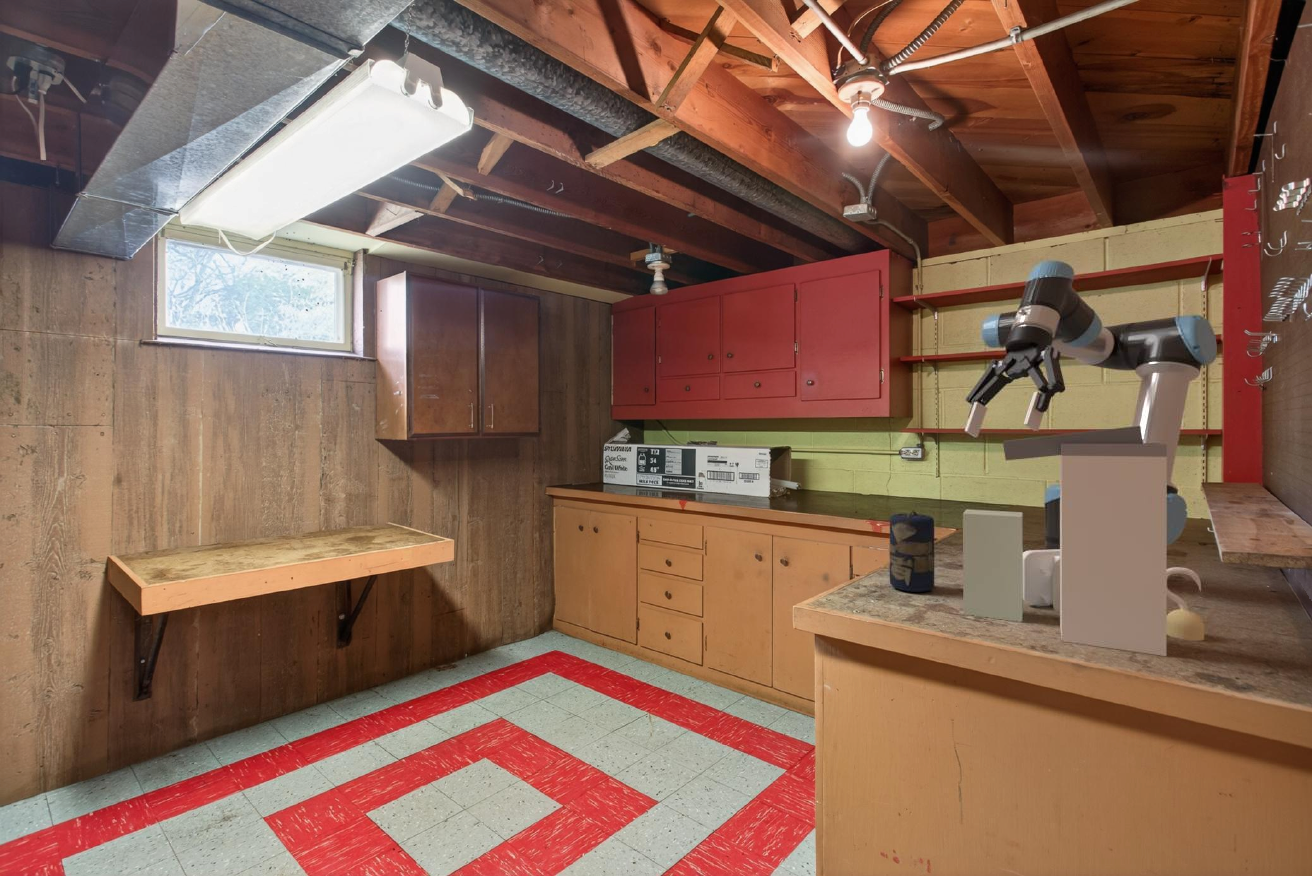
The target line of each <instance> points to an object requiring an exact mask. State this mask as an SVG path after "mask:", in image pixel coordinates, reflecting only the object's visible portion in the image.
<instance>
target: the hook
mask: <svg viewBox="0 0 1312 876" xmlns="http://www.w3.org/2000/svg"><path fill="white" fill-rule="evenodd" d="M1174 574H1185V575H1187V576H1189V577H1190V578H1191V579H1192V580H1193V581H1194V582H1195V583H1196V585H1197V586H1198V589H1199V591H1200V592H1202V584H1201V583H1202V582H1201V580H1200V576H1199V575H1198V574H1197V573H1196V572H1195V571H1194V570H1192V569H1190V568H1187V567H1182V566H1181V567H1179V566H1177V567H1170V568H1167V579H1168V578H1169V577H1170V576H1171V575H1174ZM1166 598H1168V599H1170V600H1171V601H1174V602H1175V603H1176V604H1177V605H1178V606H1179V609H1173V610H1172V611H1170V612H1169V613H1168V614H1166V636H1169V637H1171V638H1175V639H1179V640H1185V641H1192V642H1193V641H1194V642H1199V641H1204V640H1205V624H1204V621H1203V620H1202V618H1201V617H1200V616H1199V615H1198V614H1197V613H1195V612H1193V611H1191V610H1190V609H1189V606H1188V605H1187V603H1186V601H1185V600H1184V599H1183V598H1181V596H1179V595H1177V594H1175V593H1173V592H1172V591H1170V589H1169V588H1168V580H1167V581H1166Z"/></svg>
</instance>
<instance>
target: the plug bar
mask: <svg viewBox="0 0 1312 876" xmlns="http://www.w3.org/2000/svg"><path fill="white" fill-rule="evenodd" d="M1061 444H1143V438H1142V432H1141V426H1133V427H1132V426H1126V427H1117V428H1116V427H1115V428H1109V429H1107V428H1106V429H1099V430H1089V431H1082V432H1080V431H1079V432H1073V433H1062V434H1055V435H1054V434H1053V435H1046V436H1036V437H1027V438H1020V439H1018V438H1017V439H1010V440H1009V439H1008V440H1003V441H1002V445H1003V451H1004V452H1003V453H1004V457H1005V459H1004V460H1005V461H1013V460H1025V459H1034V458H1045V457H1056V456H1057V457H1058V456H1060V455H1061Z"/></svg>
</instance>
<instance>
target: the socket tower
mask: <svg viewBox="0 0 1312 876" xmlns="http://www.w3.org/2000/svg"><path fill="white" fill-rule="evenodd" d="M1059 485H1060V614H1059V617H1060V618H1059V625H1060V626H1059V631H1060V636H1061V642H1065V643H1071V644H1072V643H1073V644H1077V645H1085V646H1093V647H1100V648H1106V649H1113V650H1120V651H1129V652H1134V653H1139V654H1140V653H1141V654H1149V655H1155V656H1161V657H1162V656H1163V657H1167V634H1166V616H1167V596H1166V581H1167V582H1168V578H1167V569H1168V568H1167V563H1168V562H1167V559H1168V558H1167V552H1168V551H1167V550H1168V549H1167V547H1168V545H1167V444H1160V443H1143V444H1061V455H1059Z"/></svg>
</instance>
